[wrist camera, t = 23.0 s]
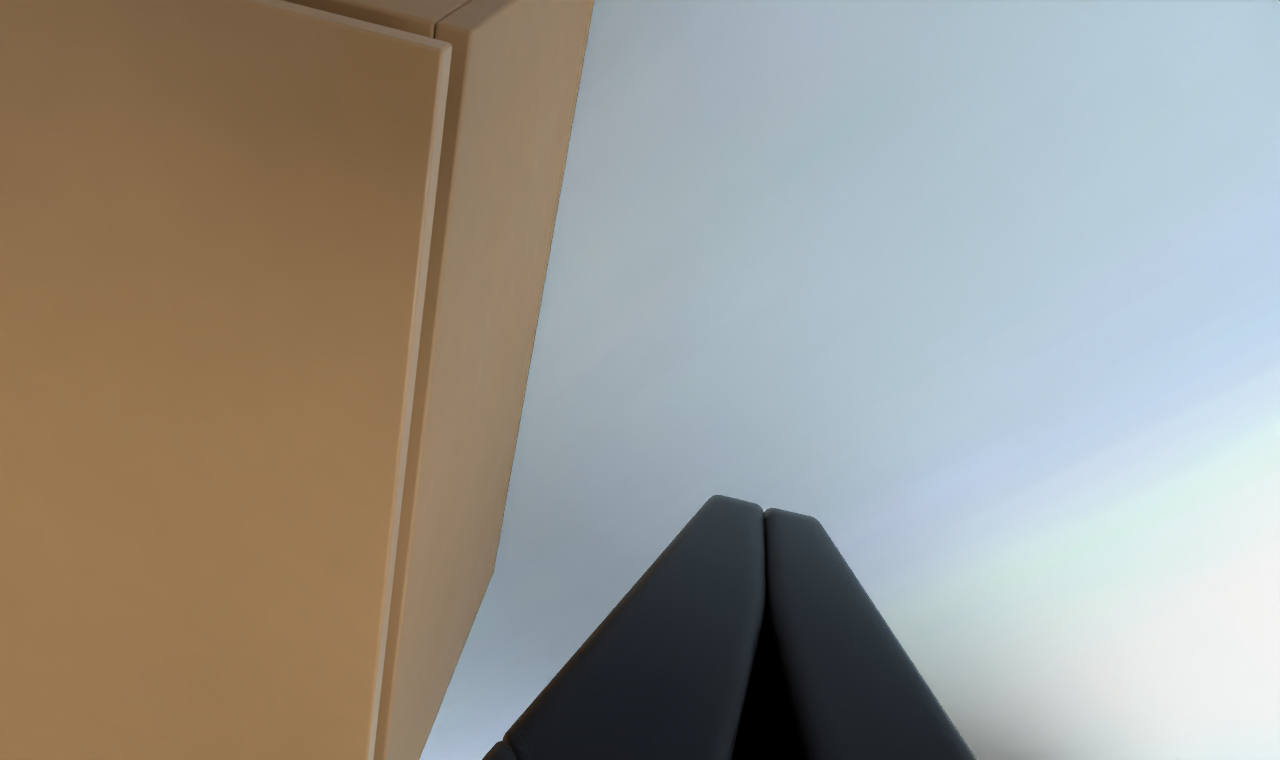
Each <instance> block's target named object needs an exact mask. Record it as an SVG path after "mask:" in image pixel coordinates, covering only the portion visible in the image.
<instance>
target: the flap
mask: <svg viewBox="0 0 1280 760" xmlns="http://www.w3.org/2000/svg"><path fill="white" fill-rule="evenodd" d="M451 54H452V44H450V43H449V42H445V41H441V40H437V39H433V38H429V37H425V36H421V35H417V34H413V33H409V32H405V31H401V30H397V29H393V28H389V27H385V26H382V25H378V24H374V23H370V22H366V21H362V20H358V19H354V18H350V17H346V16H342V15H338V14H334V13H330V12H326V11H322V10H318V9H314V8H310V7H306V6H302V5H298V4H294V3H290V2H287V1H283V0H0V760H373V758H374V749H375V740H376V731H377V722H378V713H379V704H380V695H381V686H382V677H383V668H384V659H385V650H386V641H387V632H388V623H389V614H390V605H391V596H392V587H393V578H394V569H395V560H396V551H397V542H398V533H399V524H400V515H401V506H402V497H403V487H404V478H405V469H406V460H407V451H408V442H409V433H410V424H411V415H412V406H413V397H414V388H415V379H416V370H417V361H418V352H419V343H420V334H421V325H422V316H423V307H424V298H425V289H426V280H427V271H428V262H429V253H430V244H431V235H432V226H433V217H434V208H435V199H436V190H437V181H438V172H439V163H440V154H441V145H442V136H443V127H444V118H445V109H446V99H447V90H448V81H449V72H450V63H451Z"/></svg>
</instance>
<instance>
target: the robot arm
mask: <svg viewBox="0 0 1280 760" xmlns="http://www.w3.org/2000/svg"><path fill="white" fill-rule="evenodd" d="M482 760H977V759H976V758H975V756H974V755H973V753H972V752H971V750H970V749H969V747H968V746H967V744H966V743H965V741H964V740H963V738H962V737H961V735H960V734H959V732H958V730H957V729H956V727H955V726H954V724H953V723H952V721H951V720H950V718H949V717H948V715H947V714H946V712H945V711H944V709H943V708H942V706H941V705H940V703H939V702H938V700H937V699H936V697H935V696H934V694H933V693H932V691H931V690H930V688H929V687H928V685H927V684H926V682H925V681H924V679H923V678H922V676H921V675H920V673H919V672H918V670H917V669H916V667H915V666H914V664H913V663H912V661H911V660H910V658H909V656H908V655H907V653H906V652H905V650H904V649H903V647H902V646H901V644H900V643H899V641H898V640H897V638H896V637H895V635H894V634H893V632H892V631H891V629H890V628H889V626H888V625H887V623H886V622H885V620H884V619H883V617H882V616H881V614H880V613H879V611H878V610H877V608H876V607H875V605H874V604H873V602H872V601H871V599H870V598H869V596H868V595H867V593H866V592H865V590H864V589H863V587H862V585H861V584H860V582H859V581H858V579H857V578H856V576H855V575H854V573H853V572H852V570H851V569H850V567H849V566H848V564H847V563H846V561H845V560H844V558H843V557H842V555H841V554H840V552H839V551H838V549H837V548H836V546H835V545H834V543H833V542H832V540H831V539H830V537H829V536H828V534H827V533H826V531H825V530H824V528H823V527H822V525H821V524H820V523H819V521H817V520H816V519H815V518H813V517H811V516H806V515H802V514H798V513H793V512H789V511H785V510H781V509H776V508H770V509H767V510H766V511H765V512H763V509H762V508H761V507H760V506H759V505H757V504H755V503H751V502H747V501H743V500H739V499H734V498H730V497H726V496H722V495H715V496H712V497H711V498H710V499H709V500H708V501H707V502H706V503H705V504H704V505H703V506H702V508H701V509H700V510H699V511H698V512H697V513H696V515H695V516H694V517H693V518H692V519H691V520H690V521H689V523H688V524H687V525H686V526H685V527H684V528H683V529H682V531H681V532H680V533H679V534H678V535H677V536H676V538H675V539H674V540H673V541H672V542H671V543H670V544H669V546H668V547H667V548H666V549H665V550H664V551H663V553H662V554H661V555H660V556H659V557H658V558H657V559H656V561H655V562H654V563H653V564H652V565H651V566H650V568H649V569H648V570H647V571H646V572H645V573H644V574H643V576H642V577H641V578H640V579H639V580H638V581H637V582H636V584H635V585H634V586H633V587H632V588H631V589H630V591H629V592H628V593H627V594H626V595H625V596H624V597H623V599H622V600H621V601H620V602H619V603H618V604H617V606H616V607H615V608H614V609H613V610H612V611H611V612H610V614H609V615H608V616H607V617H606V618H605V619H604V620H603V622H602V623H601V624H600V625H599V626H598V627H597V629H596V630H595V631H594V632H593V633H592V634H591V635H590V637H589V638H588V639H587V640H586V641H585V642H584V644H583V645H582V646H581V647H580V648H579V649H578V650H577V652H576V653H575V654H574V655H573V656H572V657H571V658H570V660H569V661H568V662H567V663H566V664H565V665H564V667H563V668H562V669H561V670H560V671H559V672H558V673H557V675H556V676H555V677H554V678H553V679H552V680H551V682H550V683H549V684H548V685H547V686H546V687H545V688H544V690H543V691H542V692H541V693H540V694H539V695H538V696H537V698H536V699H535V700H534V701H533V702H532V703H531V705H530V706H529V707H528V708H527V709H526V710H525V711H524V713H523V714H522V715H521V716H520V717H519V718H518V720H517V721H516V722H515V723H514V724H513V725H512V726H511V728H510V729H509V730H508V731H507V732H506V733H505V735H504V737H503V741H500V742H497V743H496V744H495V745H494V746H493V747H492V749H491V750H490V751H489V752H488V753H487V754H486V755H485V757H484V758H483V759H482Z"/></svg>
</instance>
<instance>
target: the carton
mask: <svg viewBox="0 0 1280 760" xmlns="http://www.w3.org/2000/svg"><path fill="white" fill-rule="evenodd" d="M283 1H287V2H290V3H294V4H298V5H302V6H306V7H310V8H314V9H318V10H322V11H326V12H330V13H334V14H338V15H342V16H346V17H350V18H354V19H358V20H362V21H366V22H370V23H374V24H378V25H382V26H385V27H389V28H393V29H397V30H401V31H405V32H409V33H413V34H417V35H421V36H425V37H429V38H433V39H437V40H441V41H445V42H449V43H450V44H452V54H451V63H450V72H449V81H448V90H447V99H446V109H445V118H444V127H443V136H442V145H441V154H440V163H439V172H438V181H437V190H436V199H435V208H434V217H433V226H432V235H431V244H430V253H429V262H428V271H427V280H426V289H425V298H424V307H423V316H422V325H421V334H420V343H419V352H418V361H417V370H416V379H415V388H414V397H413V406H412V415H411V424H410V433H409V442H408V451H407V460H406V469H405V478H404V487H403V497H402V506H401V515H400V524H399V533H398V542H397V551H396V560H395V569H394V578H393V587H392V596H391V605H390V614H389V623H388V632H387V641H386V650H385V659H384V668H383V677H382V686H381V695H380V704H379V713H378V722H377V731H376V740H375V749H374V758H373V760H419V759H420V756H421V754H422V751H423V749H424V746H425V744H426V741H427V739H428V736H429V734H430V731H431V728H432V726H433V723H434V721H435V718H436V716H437V713H438V711H439V708H440V706H441V703H442V701H443V698H444V696H445V693H446V691H447V688H448V685H449V683H450V680H451V678H452V675H453V673H454V670H455V668H456V665H457V663H458V660H459V658H460V655H461V653H462V650H463V648H464V645H465V642H466V640H467V637H468V635H469V632H470V630H471V627H472V625H473V622H474V620H475V617H476V615H477V612H478V610H479V607H480V604H481V602H482V599H483V597H484V594H485V592H486V589H487V587H488V584H489V581H490V579H491V577H492V574H493V571H494V566H495V560H496V554H497V549H498V543H499V537H500V532H501V526H502V520H503V515H504V509H505V503H506V498H507V492H508V486H509V481H510V475H511V469H512V464H513V458H514V452H515V447H516V441H517V435H518V430H519V424H520V418H521V413H522V407H523V401H524V396H525V390H526V384H527V379H528V373H529V367H530V361H531V356H532V350H533V344H534V339H535V333H536V327H537V322H538V316H539V310H540V305H541V299H542V293H543V288H544V282H545V276H546V271H547V265H548V259H549V254H550V248H551V242H552V237H553V231H554V225H555V220H556V214H557V208H558V203H559V197H560V191H561V186H562V180H563V174H564V169H565V163H566V157H567V152H568V146H569V140H570V135H571V129H572V123H573V118H574V112H575V106H576V101H577V95H578V89H579V83H580V78H581V72H582V66H583V61H584V55H585V49H586V44H587V38H588V32H589V27H590V21H591V15H592V10H593V4H594V0H283Z"/></svg>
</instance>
